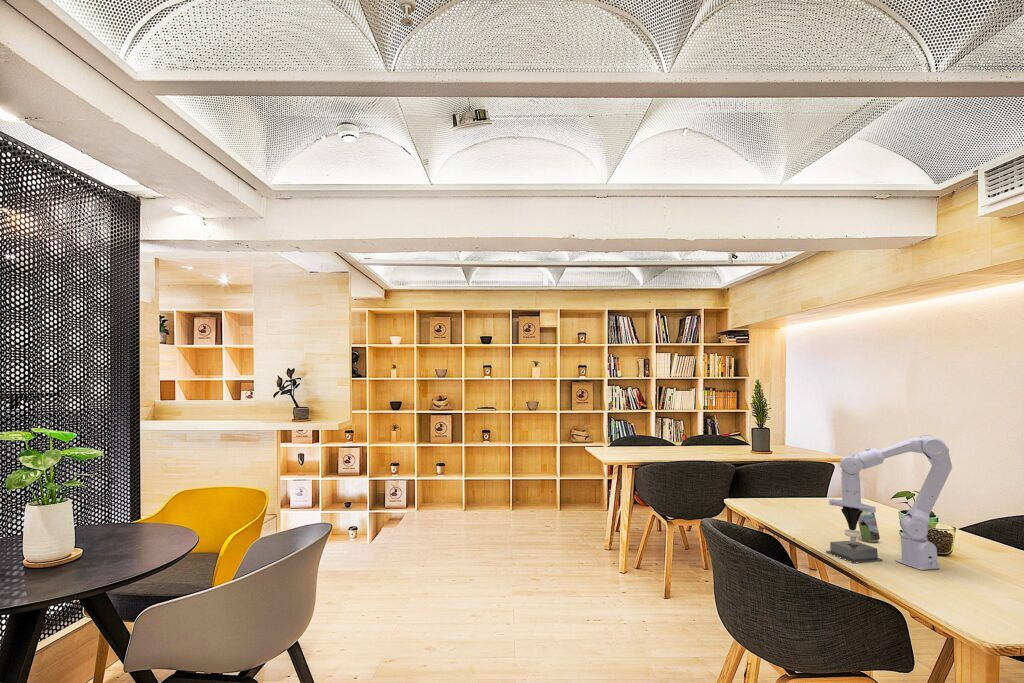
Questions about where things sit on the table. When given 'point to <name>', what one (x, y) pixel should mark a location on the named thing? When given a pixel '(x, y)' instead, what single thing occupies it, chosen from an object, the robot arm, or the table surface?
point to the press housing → (854, 551)
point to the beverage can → (868, 526)
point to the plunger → (853, 536)
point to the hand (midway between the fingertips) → (852, 529)
